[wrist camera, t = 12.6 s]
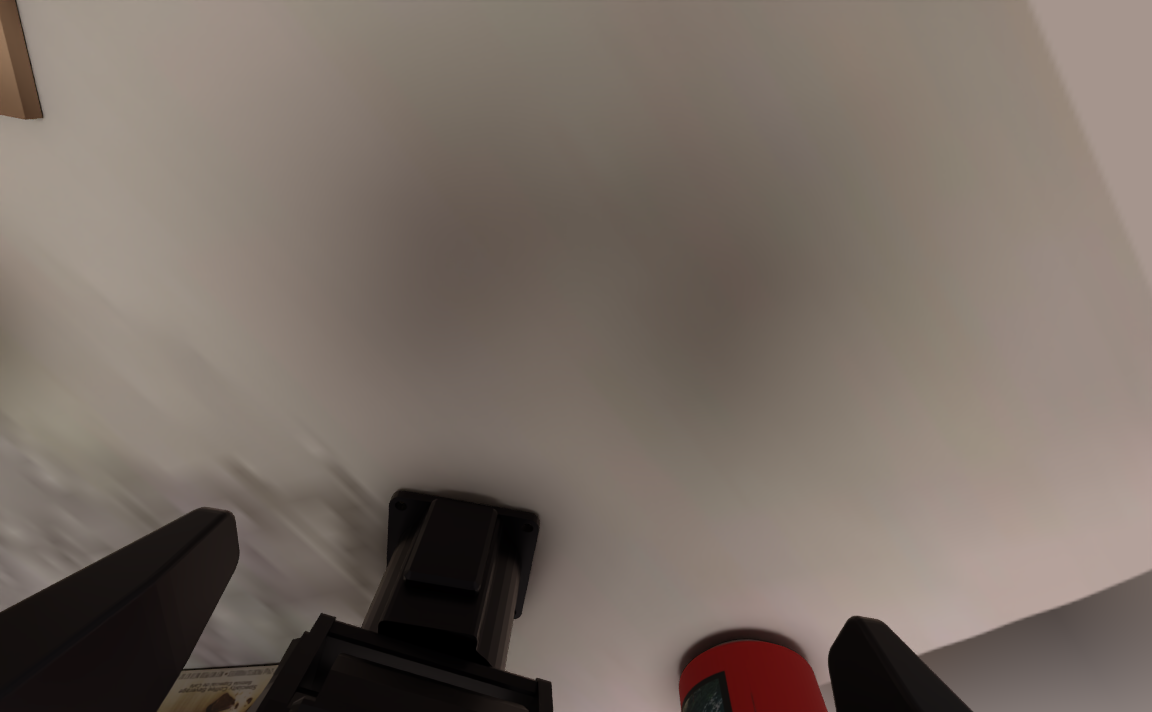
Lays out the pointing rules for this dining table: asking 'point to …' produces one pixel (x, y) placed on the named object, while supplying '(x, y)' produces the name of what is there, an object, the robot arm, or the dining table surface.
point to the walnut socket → (15, 68)
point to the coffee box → (217, 689)
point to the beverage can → (749, 680)
